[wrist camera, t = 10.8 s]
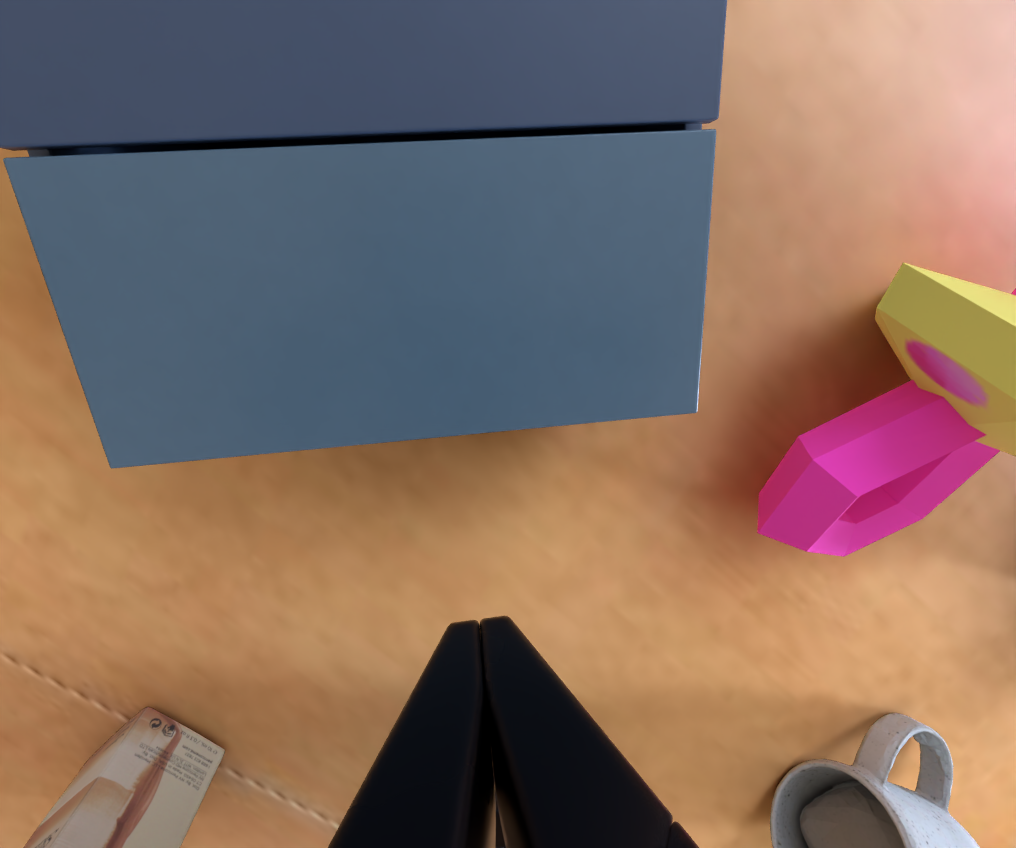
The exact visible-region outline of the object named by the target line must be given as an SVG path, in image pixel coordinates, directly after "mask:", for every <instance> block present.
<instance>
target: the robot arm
mask: <svg viewBox="0 0 1016 848" xmlns="http://www.w3.org/2000/svg"><path fill="white" fill-rule="evenodd" d="M480 635H481V636H480ZM328 848H699V847H698V846H697V844H696V843H695V842H694V841H693V840H692V838H691V837H690V836H689V835H688V833H687V832H686V831H685V830H684V829H683V827H682V826H681V825H680V824H679V823H678V822H673V823H672V815H671V813H670V812H669V811H668V810H667V808H666V807H665V806H664V805H663V804H662V802H661V801H660V800H659V799H658V797H657V796H656V795H655V794H654V793H653V791H652V790H651V789H650V788H649V786H648V785H647V784H646V783H645V782H644V780H643V779H642V778H641V777H640V776H639V774H638V773H637V772H636V771H635V769H634V768H633V767H632V766H631V765H630V763H629V762H628V761H627V760H626V758H625V757H624V756H623V755H622V754H621V752H620V751H619V750H618V749H617V748H616V746H615V745H614V744H613V743H612V741H611V740H610V739H609V738H608V737H607V735H606V734H605V733H604V732H603V730H602V729H601V728H600V727H599V726H598V724H597V723H596V722H595V721H594V720H593V718H592V717H591V716H590V715H589V713H588V712H587V711H586V710H585V709H584V707H583V706H582V705H581V704H580V702H579V701H578V700H577V699H576V698H575V696H574V695H573V694H572V693H571V692H570V690H569V689H568V688H567V687H566V685H565V684H564V683H563V682H562V681H561V679H560V678H559V677H558V676H557V674H556V673H555V672H554V671H553V670H552V668H551V667H550V666H549V665H548V664H547V662H546V661H545V660H544V659H543V657H542V656H541V655H540V654H539V653H538V651H537V650H536V649H535V648H534V646H533V645H532V644H531V643H530V642H529V640H528V639H527V638H526V637H525V636H524V634H523V633H522V632H521V631H520V629H519V628H518V627H517V626H516V625H515V623H514V622H513V621H512V620H511V619H510V618H509V617H507V616H500V617H492V618H485V619H482V620H481V622H480V626H479V623H478V621H476V620H470V621H462V622H455V623H451V624H450V625H449V626H448V627H447V629H446V631H445V633H444V635H443V636H442V638H441V640H440V642H439V644H438V646H437V647H436V649H435V651H434V653H433V655H432V657H431V659H430V660H429V662H428V664H427V666H426V668H425V670H424V671H423V673H422V675H421V677H420V679H419V681H418V682H417V684H416V686H415V688H414V690H413V692H412V693H411V695H410V697H409V699H408V701H407V703H406V705H405V706H404V708H403V710H402V712H401V714H400V716H399V717H398V719H397V721H396V723H395V725H394V727H393V728H392V730H391V732H390V734H389V736H388V738H387V739H386V741H385V743H384V745H383V747H382V749H381V751H380V752H379V754H378V756H377V758H376V760H375V762H374V763H373V765H372V767H371V769H370V771H369V773H368V774H367V776H366V778H365V780H364V782H363V784H362V785H361V787H360V789H359V791H358V793H357V795H356V797H355V798H354V800H353V802H352V804H351V806H350V808H349V809H348V811H347V813H346V815H345V817H344V819H343V820H342V822H341V824H340V826H339V828H338V830H337V831H336V833H335V835H334V837H333V839H332V841H331V843H330V844H329V846H328Z"/></svg>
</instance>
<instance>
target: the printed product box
mask: <svg viewBox="0 0 1016 848" xmlns="http://www.w3.org/2000/svg"><path fill="white" fill-rule="evenodd" d="M224 753H225V750H224V749H223V748H221V747H220V746H218V745H216V744H214V743H213V742H211V741H209V740H208V739H206V738H204V737H203V736H201V735H199V734H198V733H196V732H194V731H193V730H191V729H189V728H187V727H185V726H184V725H182V724H180V723H178V722H176V721H174V720H173V719H171V718H169V717H167V716H165V715H163V714H162V713H159V712H158V711H156V710H154V709H152V708H150V707H146V708H144V709H143V710H142V711H140V712H139V713H138V714H137V715H135V716H134V717H133V718H132V719H131V720H130V721H129V722H127V723H126V724H125V725H124V726H123V727H122V728H121V729H120V730H119V731H117V732H116V733H115V734H114V735H113V736H112V737H111V738H110V739H109V740H108V741H107V742H106V743H105V744H104V745H103V746H101V747H100V748H99V749H98V750H97V751H96V752H95V753H94V754H93V755H92V757H91V758H90V759H89V760H88V761H87V762H86V763H85V764H84V765H83V767H82V768H81V770H80V771H79V773H78V774H77V775H76V777H75V778H74V779H73V781H72V782H71V783H70V785H69V786H68V787H67V789H66V790H65V791H64V793H63V794H62V795H61V797H60V798H59V799H58V801H57V802H56V803H55V805H54V806H53V807H52V809H51V810H50V812H49V813H48V814H47V816H46V817H45V818H44V820H43V821H42V822H41V824H40V825H39V827H38V828H37V829H36V831H35V832H34V833H33V835H32V836H31V838H30V839H29V840H28V842H27V843H26V845H25V846H24V848H180V847H181V844H182V842H183V840H184V838H185V836H186V834H187V832H188V830H189V827H190V825H191V823H192V821H193V819H194V817H195V815H196V813H197V811H198V809H199V806H200V804H201V802H202V800H203V798H204V796H205V793H206V791H207V789H208V787H209V785H210V783H211V781H212V779H213V777H214V774H215V772H216V770H217V768H218V766H219V764H220V762H221V760H222V758H223V756H224Z"/></svg>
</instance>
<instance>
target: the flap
mask: <svg viewBox="0 0 1016 848" xmlns="http://www.w3.org/2000/svg"><path fill="white" fill-rule="evenodd" d="M715 143H716V130H715V129H706V130H681V131H657V132H632V133H607V134H583V135H558V136H533V137H509V138H484V139H459V140H435V141H410V142H385V143H361V144H336V145H312V146H287V147H262V148H238V149H213V150H188V151H164V152H139V153H114V154H90V155H65V156H40V157H16V158H4V159H3V161H4V164H5V167H6V170H7V173H8V175H9V178H10V181H11V184H12V187H13V190H14V193H15V196H16V198H17V201H18V204H19V207H20V210H21V213H22V216H23V218H24V221H25V224H26V227H27V230H28V233H29V236H30V239H31V241H32V244H33V247H34V250H35V253H36V256H37V259H38V262H39V264H40V267H41V270H42V273H43V276H44V279H45V282H46V284H47V287H48V290H49V293H50V296H51V299H52V302H53V305H54V307H55V310H56V313H57V316H58V319H59V322H60V325H61V328H62V330H63V333H64V336H65V339H66V342H67V345H68V348H69V350H70V353H71V356H72V359H73V362H74V365H75V368H76V371H77V373H78V376H79V379H80V382H81V385H82V388H83V391H84V393H85V396H86V399H87V402H88V405H89V408H90V411H91V414H92V416H93V419H94V422H95V425H96V428H97V431H98V434H99V437H100V439H101V442H102V445H103V448H104V451H105V454H106V457H107V459H108V462H109V465H110V467H111V468H122V467H132V466H143V465H153V464H164V463H174V462H185V461H195V460H206V459H216V458H227V457H237V456H248V455H258V454H269V453H279V452H290V451H300V450H311V449H321V448H332V447H343V446H353V445H364V444H374V443H385V442H395V441H406V440H416V439H427V438H437V437H448V436H458V435H469V434H479V433H490V432H500V431H511V430H521V429H532V428H542V427H553V426H563V425H574V424H584V423H595V422H605V421H616V420H626V419H637V418H647V417H658V416H669V415H679V414H690V413H697V410H698V395H699V380H700V366H701V351H702V336H703V321H704V306H705V291H706V277H707V262H708V247H709V232H710V217H711V202H712V187H713V173H714V158H715Z"/></svg>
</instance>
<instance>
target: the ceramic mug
mask: <svg viewBox="0 0 1016 848" xmlns="http://www.w3.org/2000/svg"><path fill="white" fill-rule="evenodd" d="M912 736H913V737H914V739H915V740H916V741H917V742H919V744H920V751H921V753H920V772H919V776H918V781H917V787H916V790H915V791H912V790H909V789H907V788H904V787H902V786H899V785H896V784H892V783H890V782H887V778H888V774H889V772H890V770H891V768H892V766H893V764H894V761H895V758H896V756H897V754H898V752H899V751H900V749H901V748H902V747H903V745H904V744H905V743H906V742H907V740H908V739H909V738H911V737H912ZM952 782H953V762H952V758H951V755H950V751H949V749H948V746H947V744H946V742H945V741H944V740H943V738H942V737H941V736H940V735H939V734H938V733H937V732H936V731H934V730H933V729H932V728H930V727H928V726H926V725H924V724H922V723H920V722H918V721H916V720H914V719H912V718H910V717H908V716H906V715H903V714H898V713H890V714H888V715H884V716H883V717H881V718H880V719H878V720H877V721H876V722H875V723H874V724H873V725H872V726H871V727H870V728H869V729H868V731H867V733H866V734H865V736H864V738H863V740H862V743H861V745H860V747H859V749H858V752H857V754H856V757H855V760H854V763H853V765H850V766H849V765H846V764H843V763H840V762H836V761H832V760H827V759H814V760H809V761H806V762H803V763H801V764H799V765H797V766H796V767H794V768H792V769H791V770H790V771H789V772H788V773H787V774H786V775H785V776H784V778H783V779H782V780H781V782H780V783H779V785H778V786H777V789H776V791H775V794H774V797H773V801H772V806H771V816H770V831H771V841H772V846H773V848H980V847H979V845H978V844H977V843H976V841H975V840H974V839H973V838H972V837H971V835H970V834H969V833H968V832H967V831H966V830H965V829H964V828H963V827H962V826H961V825H960V824H959V823H958V822H957V821H956V820H955V819H954V818H953V817H952V816H950V814H949V812H948V805H949V800H950V794H951V787H952Z"/></svg>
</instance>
